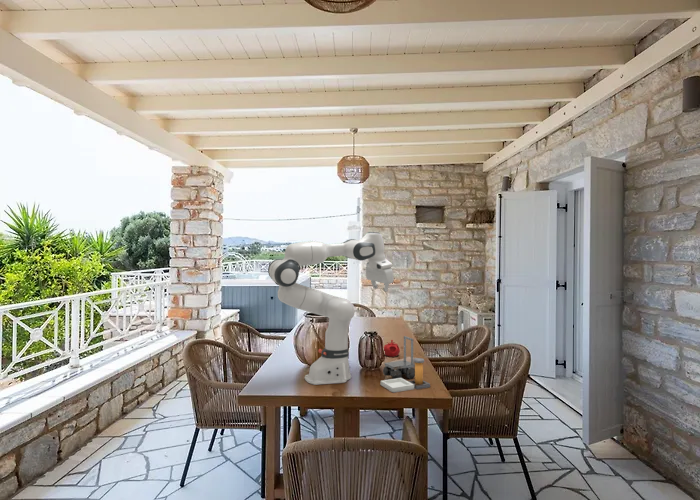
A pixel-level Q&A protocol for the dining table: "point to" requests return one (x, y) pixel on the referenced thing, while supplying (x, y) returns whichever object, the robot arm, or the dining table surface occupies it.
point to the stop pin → (418, 370)
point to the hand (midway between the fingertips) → (380, 289)
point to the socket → (420, 385)
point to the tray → (397, 385)
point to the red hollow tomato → (391, 349)
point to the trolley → (401, 365)
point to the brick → (406, 360)
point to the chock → (388, 377)
